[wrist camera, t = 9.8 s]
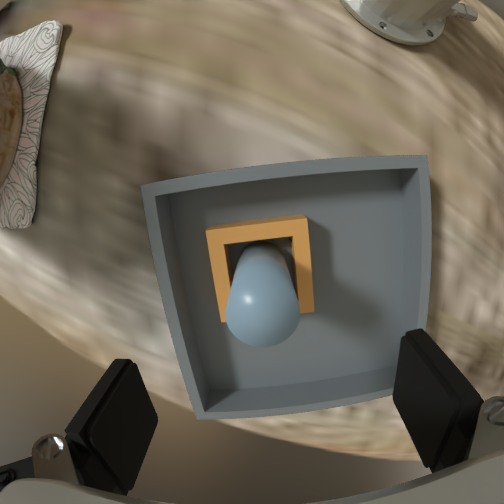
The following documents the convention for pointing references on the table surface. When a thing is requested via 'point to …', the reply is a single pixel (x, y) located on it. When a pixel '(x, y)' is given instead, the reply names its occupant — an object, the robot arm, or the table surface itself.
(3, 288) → the table surface
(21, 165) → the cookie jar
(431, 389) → the robot arm
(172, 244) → the walled box
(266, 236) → the frame
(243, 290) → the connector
